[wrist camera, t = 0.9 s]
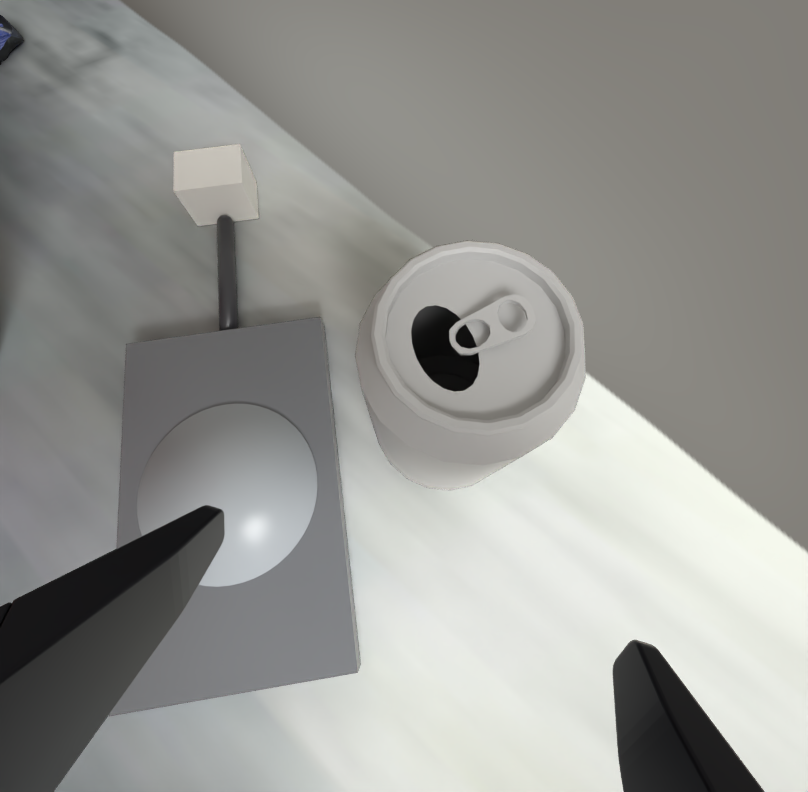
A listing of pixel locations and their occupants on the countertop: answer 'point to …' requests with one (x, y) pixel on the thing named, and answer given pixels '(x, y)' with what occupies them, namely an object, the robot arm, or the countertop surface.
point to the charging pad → (239, 479)
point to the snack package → (8, 38)
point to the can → (469, 362)
